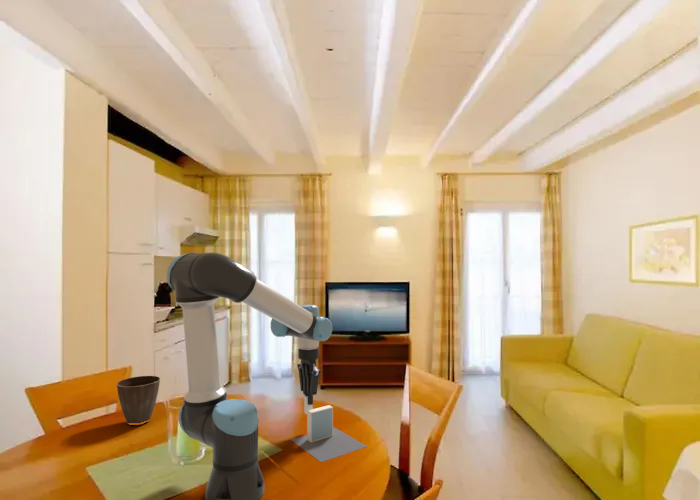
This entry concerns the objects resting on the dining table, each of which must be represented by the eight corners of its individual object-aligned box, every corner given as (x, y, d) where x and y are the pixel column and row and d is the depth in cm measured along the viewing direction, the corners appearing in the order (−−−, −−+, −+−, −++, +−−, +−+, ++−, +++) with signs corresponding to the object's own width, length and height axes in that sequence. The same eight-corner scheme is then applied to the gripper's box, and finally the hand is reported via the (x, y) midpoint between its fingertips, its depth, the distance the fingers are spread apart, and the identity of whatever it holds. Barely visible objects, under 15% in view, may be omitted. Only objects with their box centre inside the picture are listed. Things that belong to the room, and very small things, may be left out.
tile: (310, 442, 140) (310, 412, 140) (307, 439, 142) (307, 410, 143) (333, 435, 146) (332, 407, 146) (329, 433, 148) (329, 405, 148)
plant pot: (106, 427, 155) (107, 384, 155) (137, 413, 169) (138, 374, 169) (139, 432, 150) (139, 388, 151) (168, 417, 164) (168, 377, 165)
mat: (321, 464, 127) (321, 462, 127) (290, 441, 143) (290, 439, 143) (367, 448, 137) (367, 446, 137) (333, 428, 153) (333, 426, 153)
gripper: (326, 349, 148) (327, 415, 147) (308, 343, 159) (308, 405, 158) (308, 352, 144) (308, 420, 143) (290, 345, 154) (290, 409, 154)
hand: (308, 412), depth 150 cm, fingers closed
